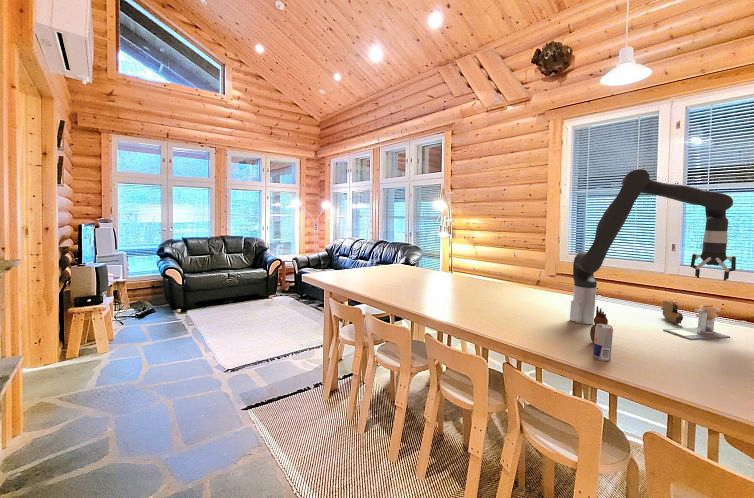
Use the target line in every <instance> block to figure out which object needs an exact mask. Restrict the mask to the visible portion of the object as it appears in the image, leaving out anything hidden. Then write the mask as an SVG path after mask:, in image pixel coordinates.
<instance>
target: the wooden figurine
mask: <svg viewBox="0 0 754 498" xmlns="http://www.w3.org/2000/svg"><path fill="white" fill-rule="evenodd" d="M595 310H596V311H595V316H594V323H593V324H592V326H591V327H590V330H589V336H590V337H589V338H590V340H591V342H592V343H593V344H594V338H595V326H596V324H607V325H609V324H608V323H609V321H608V320H609V319H608V318H607V315H606V313H605V312H604V311H603V310H602V307H600V309H599V306H598V305H596V308H595Z"/></svg>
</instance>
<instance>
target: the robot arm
mask: <svg viewBox="0 0 754 498" xmlns="http://www.w3.org/2000/svg"><path fill="white" fill-rule="evenodd" d="M621 183H622V185H621V188H620V190H619V192H618V193H617V195H616V197H615V198H614V199H613V200H612V202H611V203H610V205H609V206H608V207H607V208H606V210H605V211H604V212H603V214H602V216H601V218H600V219H599V221H598V223H597V226H596V230H595V234H594V240H593V243H592V245H591V246H590V248H589V249H587V250H588V251H582V252H579V253H577V254H576V255H575V257H574V258H573V265H572V267H573V270H572V278H573V282H574V283H573V297H572V300H571V301H570V310H569V320H570V321H571V322H574V323H577V324H582V325H594V318H595V313H596V311H595V310H596V296H597V284H598V283H597V280H596V278H595V276H594V275H595V274H594V273H596V272H597V271H599V270H600V268H601V266H602V265H603V262H604V260H605V258H606V256H607V253H608V252H609V249H610V248H611V246H612V244H613V243H614V242H615V239H616V238H617V236H618V235H619V233H620V231H621V230H622V228H623V226H624V225H625V223H626V221H627V219H628V218H629V215H630V212H631V211H632V208H633V207H634V204H635V202H636V201H637V199H638V197H640V195H641V194H647V195H653V196H658V197H663V198H666V199H670V200H673V201H678V202H681V203H685V204H688V205H689V204H690V205H694V206H701V207H704V210H705V219H706V221H705V229H704V234H703V239H702V247H701V249H702V250H701V251H702V252H701V254H697V253H692V256H691V261H690V268H692V269H694V270H695V272H694V275H695V277H696V279H700V272H701V270H700V269H701V268H702V267H703V266H704V265H708V266H716V267H717V266H720V267H722V269H723V270H724V271H723V281H727V280H729V276H730V272H734V271H736V269H737V265H736V263H737V257H736V256H734V255H733V256H727V247H728V239H729V238H728V229H729V219H728V218H727V210H729V209H730V208H731V207H733V205H734V199H733V198H732V197H731V196H730V195H729V194H726V193H722V192H718V191H717V192H716V191H711V190H704V189H702V188H697V187H694V186H690V185H686V184H681V183H671V182H663V181H659V180H653V179H651V176H650V174H649V172H648V170H646V169H645V168H636V169H632V170H630V171H629V172H627V174H626V175H625V176H624V177H623V179H622V182H621ZM699 258H700V259H701V262H700V263H699V264H697V265H695V263H696V260H698V259H699ZM726 260H728V261H729V262H731V263H730V266H731V267H727V265H726V264H725V263H724V262H725V261H726Z"/></svg>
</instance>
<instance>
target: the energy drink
mask: <svg viewBox="0 0 754 498" xmlns="http://www.w3.org/2000/svg"><path fill="white" fill-rule="evenodd" d="M613 333H614V328H613V326H612V325H610V324H596V326H595V338H594V343H593V350H592V351H593V353H592V356H593V358H594V359H596V360H598V361H602V362H610V361H611V359H612V347H613V346H612V344H613V335H614V334H613Z"/></svg>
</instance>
